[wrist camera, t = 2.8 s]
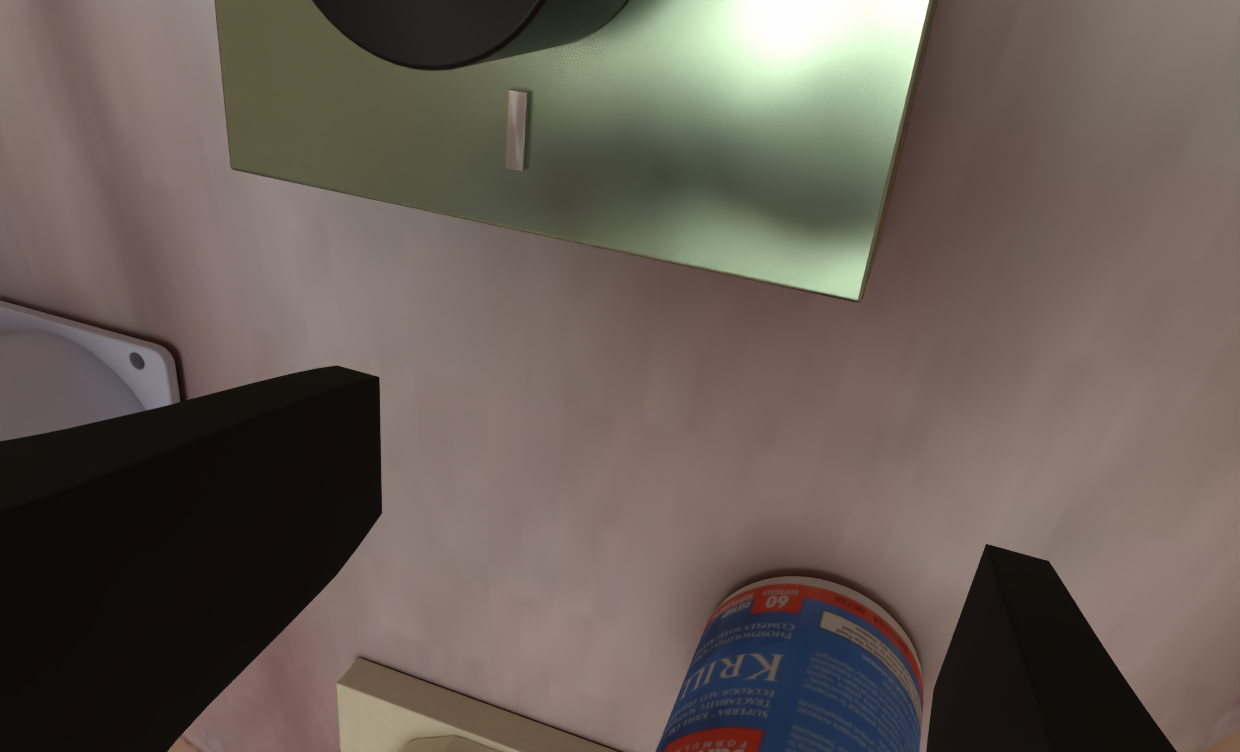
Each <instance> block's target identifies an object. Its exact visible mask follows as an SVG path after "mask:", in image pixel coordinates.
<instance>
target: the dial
mask: <svg viewBox="0 0 1240 752" xmlns="http://www.w3.org/2000/svg"><path fill="white" fill-rule="evenodd" d="M312 1H313V3H314V4H315V5H316V7H317V8H318V9H319V10H320V11H321V12H322V14H323V15H324V16H325V17H326V18H327V20H328V21H329V22H330V23H331V24H332V25H334V26H335V27H336V28H337V29H338V30H339V31H340V32H341V33H342V34H343V35H344V36H346V37H347V38H348V39H350V40H351V41H352V42H354V43H355V44H356V45H358V46H359V47H360V48H362V49H364V50H365V51H367V52H369V53H371V54H373V55H374V56H376V57H378V58H380V59H382V60H385V61H387V62H390V63H392V64H395V65H398V66H402V67H406V68H410V69H414V70H425V71H443V70H453V69H458V68H463V67H467V66H472V65H476V64H481V63H485V62H490V61H494V60H499V59H504V58H508V57H513V56H517V55H522V54H526V53H531V52H535V51H540V50H545V49H549V48H554V47H558V46H562V45H567V44H569V43H572V42H574V41H577V40H579V39H582V38H583V37H585V36H587V35H589V34H590V33H592V32H594V31H595V30H597V29H598V28H599V27H601V26H602V25H603V24H604V23H606V22H607V21H608V20H609V19H610V18H611V17H612V16H613V15H614V14H615V13H616V12H617V11H618V10H619V9H620V8H621V7H622V5H623V4H624V3H625V1H626V0H312Z"/></svg>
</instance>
